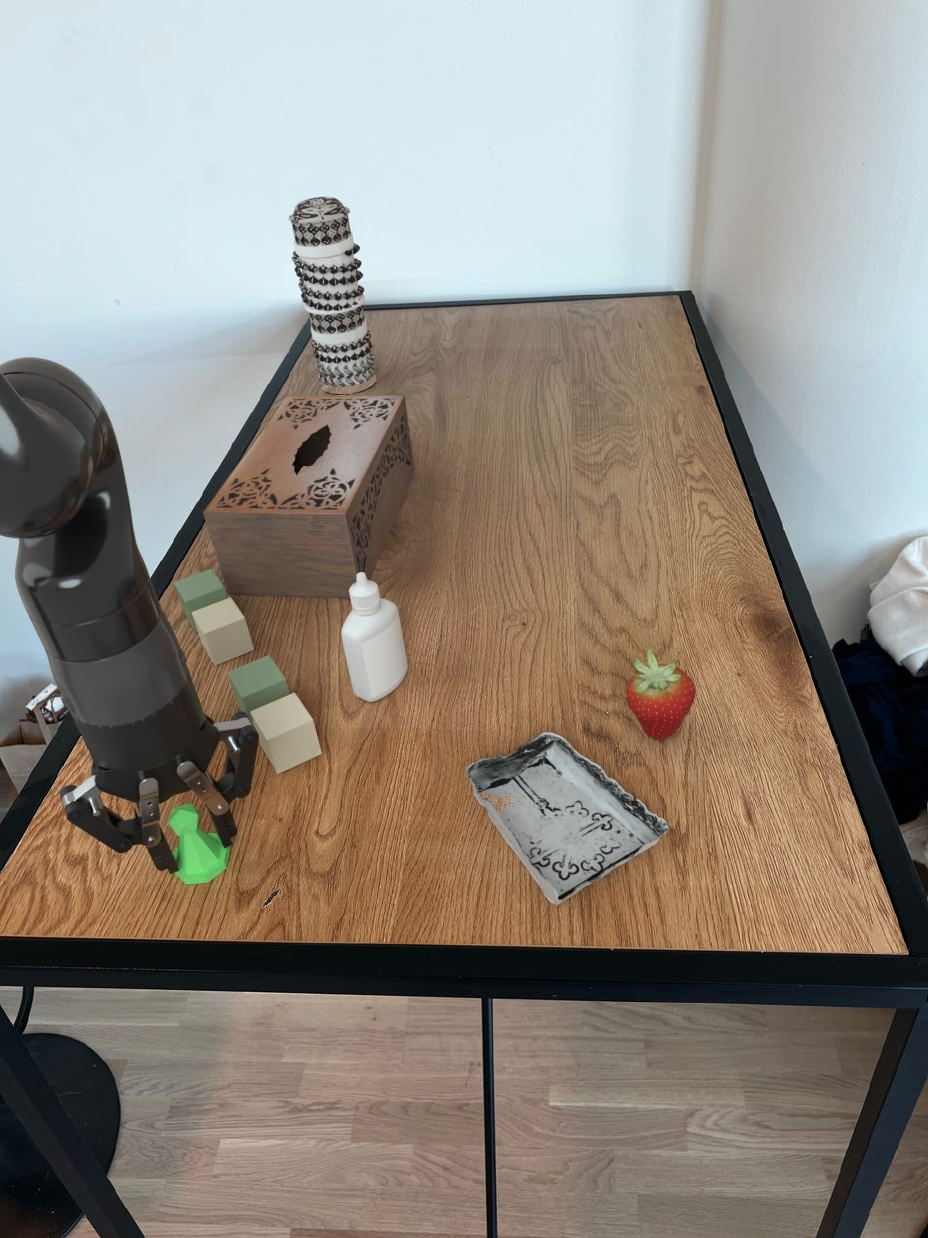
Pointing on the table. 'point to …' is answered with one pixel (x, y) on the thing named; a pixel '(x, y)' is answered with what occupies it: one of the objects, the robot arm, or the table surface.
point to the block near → (286, 732)
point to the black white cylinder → (332, 291)
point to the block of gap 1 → (223, 631)
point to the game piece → (196, 847)
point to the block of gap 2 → (257, 684)
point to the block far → (199, 592)
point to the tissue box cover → (313, 496)
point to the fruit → (660, 696)
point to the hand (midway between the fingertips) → (198, 851)
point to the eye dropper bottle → (373, 642)
